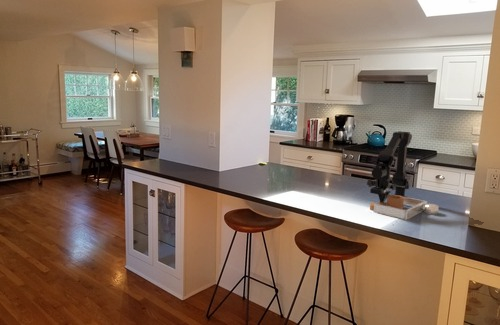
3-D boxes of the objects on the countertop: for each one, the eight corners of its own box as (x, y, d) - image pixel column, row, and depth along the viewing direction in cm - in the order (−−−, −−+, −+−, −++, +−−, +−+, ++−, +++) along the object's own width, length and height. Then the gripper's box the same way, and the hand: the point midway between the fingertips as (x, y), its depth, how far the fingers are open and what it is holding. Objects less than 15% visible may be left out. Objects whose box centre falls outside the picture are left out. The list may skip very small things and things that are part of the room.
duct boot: (395, 202, 215) (395, 194, 214) (426, 209, 203) (427, 201, 202) (373, 211, 196) (374, 203, 195) (406, 219, 184) (407, 211, 183)
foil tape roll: (426, 210, 202) (427, 203, 201) (439, 212, 197) (440, 205, 197) (422, 212, 197) (423, 205, 196) (435, 215, 193) (436, 208, 192)
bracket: (397, 207, 207) (398, 194, 206) (406, 211, 199) (407, 198, 198) (366, 207, 204) (367, 195, 202) (374, 212, 196) (375, 199, 194)
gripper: (378, 171, 216) (375, 197, 218) (362, 175, 203) (359, 203, 205) (397, 174, 208) (394, 202, 211) (381, 179, 195) (379, 208, 198)
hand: (381, 203), depth 206 cm, fingers closed
